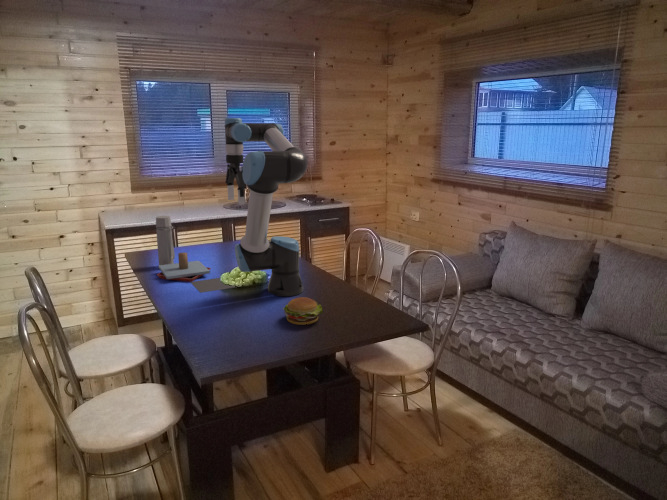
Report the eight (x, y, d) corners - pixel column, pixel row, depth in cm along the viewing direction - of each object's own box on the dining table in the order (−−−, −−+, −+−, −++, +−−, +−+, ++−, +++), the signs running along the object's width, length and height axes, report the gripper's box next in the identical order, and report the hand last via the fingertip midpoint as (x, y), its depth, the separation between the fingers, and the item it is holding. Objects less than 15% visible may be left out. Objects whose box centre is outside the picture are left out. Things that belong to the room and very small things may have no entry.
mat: (237, 288, 219) (237, 286, 219) (200, 293, 211) (200, 292, 211) (225, 277, 232) (224, 276, 232) (190, 283, 224) (190, 282, 224)
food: (288, 329, 178) (288, 308, 175) (280, 314, 191) (280, 294, 189) (325, 325, 181) (326, 304, 179) (316, 311, 194) (316, 291, 192)
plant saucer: (211, 273, 241) (211, 267, 240) (192, 285, 224) (192, 278, 223) (177, 270, 245) (177, 264, 244) (156, 281, 228) (155, 274, 227)
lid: (209, 273, 231) (209, 256, 229) (167, 279, 222) (165, 261, 220) (198, 262, 247) (198, 246, 245) (158, 267, 238) (157, 251, 236)
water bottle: (155, 267, 246) (151, 217, 239) (167, 264, 252) (163, 214, 246) (169, 270, 241) (165, 219, 235) (180, 266, 248) (177, 216, 242)
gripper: (253, 155, 214) (254, 205, 219) (233, 152, 234) (234, 197, 240) (236, 156, 210) (237, 206, 215) (217, 152, 231) (219, 198, 236)
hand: (236, 201), depth 228 cm, fingers open, 13 cm apart
